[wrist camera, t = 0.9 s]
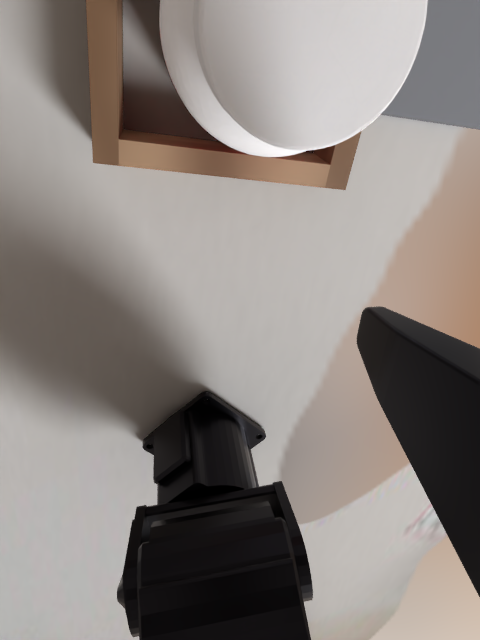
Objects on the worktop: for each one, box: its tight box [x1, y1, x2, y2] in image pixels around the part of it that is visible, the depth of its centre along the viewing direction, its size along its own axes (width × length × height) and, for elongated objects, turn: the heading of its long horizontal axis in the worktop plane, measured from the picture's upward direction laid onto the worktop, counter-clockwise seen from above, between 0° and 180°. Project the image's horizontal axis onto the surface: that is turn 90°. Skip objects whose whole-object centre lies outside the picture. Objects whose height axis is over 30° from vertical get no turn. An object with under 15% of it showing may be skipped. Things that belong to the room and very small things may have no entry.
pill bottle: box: [159, 0, 428, 157], centre depth 13 cm, size 6×6×11 cm
